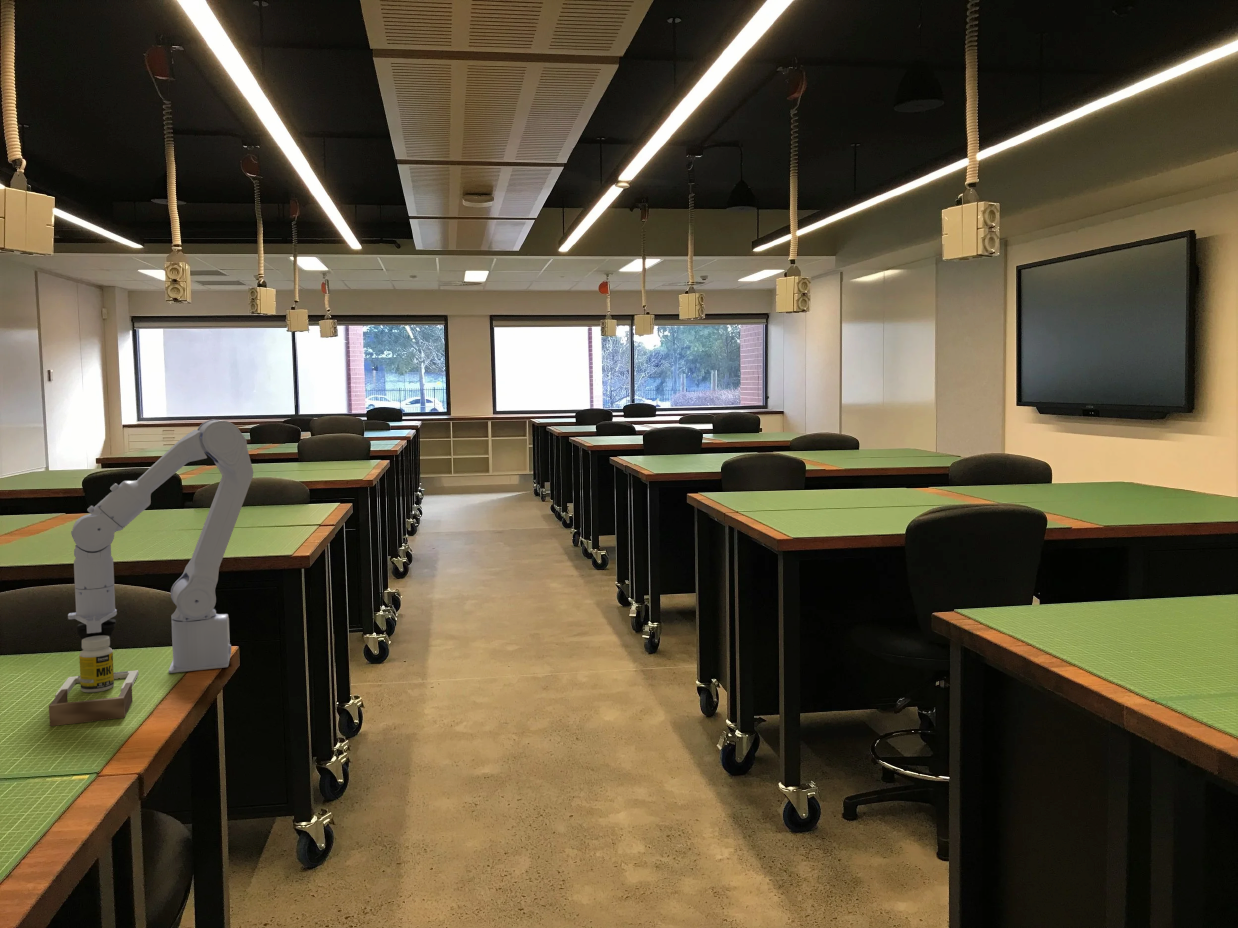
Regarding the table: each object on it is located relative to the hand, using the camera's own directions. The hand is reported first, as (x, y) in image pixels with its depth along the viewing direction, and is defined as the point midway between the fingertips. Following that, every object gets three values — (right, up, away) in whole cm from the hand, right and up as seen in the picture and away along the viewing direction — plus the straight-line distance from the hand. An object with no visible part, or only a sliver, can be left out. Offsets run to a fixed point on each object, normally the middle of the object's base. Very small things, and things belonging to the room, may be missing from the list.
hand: (98, 665), depth 151 cm
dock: (+2, -3, -4) cm, 6 cm away
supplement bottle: (+2, -3, -4) cm, 6 cm away
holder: (+8, -4, -15) cm, 18 cm away
